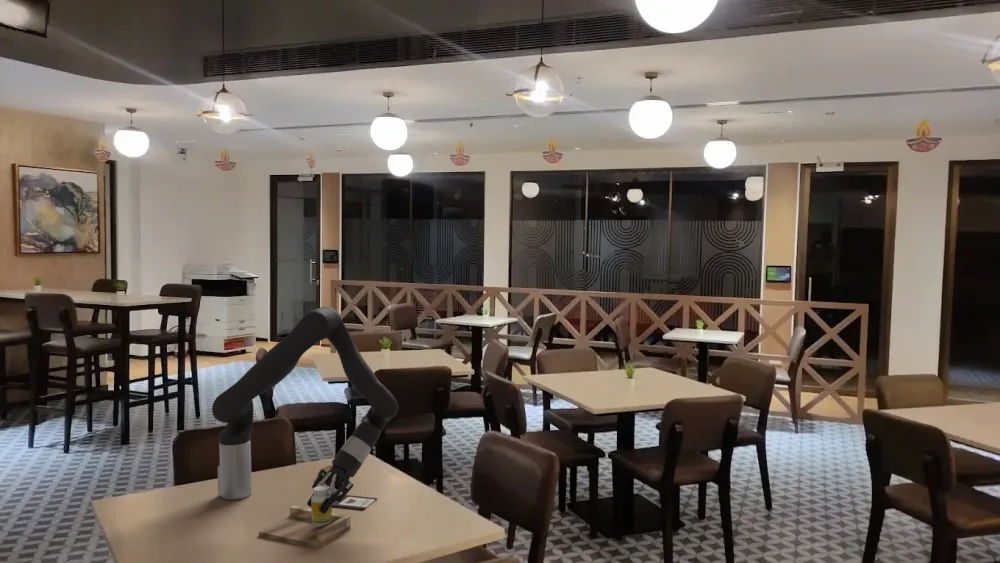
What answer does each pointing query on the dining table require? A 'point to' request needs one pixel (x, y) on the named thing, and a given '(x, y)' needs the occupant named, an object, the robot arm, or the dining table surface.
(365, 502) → the chocolate bar
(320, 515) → the supplement bottle
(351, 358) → the robot arm
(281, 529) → the wooden tray
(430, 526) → the dining table surface
